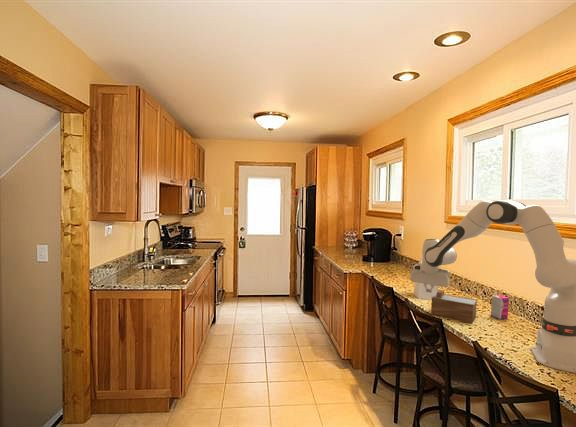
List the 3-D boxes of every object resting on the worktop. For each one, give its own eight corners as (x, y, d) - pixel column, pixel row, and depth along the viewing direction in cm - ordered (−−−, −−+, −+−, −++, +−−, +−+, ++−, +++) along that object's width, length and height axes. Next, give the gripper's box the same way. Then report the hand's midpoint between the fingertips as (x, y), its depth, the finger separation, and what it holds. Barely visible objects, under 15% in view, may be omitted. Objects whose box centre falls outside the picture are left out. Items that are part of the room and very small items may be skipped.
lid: (473, 306, 179) (473, 299, 179) (432, 299, 191) (432, 292, 191) (476, 302, 187) (476, 295, 187) (436, 295, 198) (436, 289, 198)
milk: (432, 294, 231) (434, 255, 230) (438, 299, 220) (440, 258, 219) (413, 293, 233) (415, 254, 232) (418, 298, 221) (420, 257, 220)
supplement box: (499, 319, 185) (500, 298, 185) (490, 316, 191) (491, 295, 190) (508, 319, 187) (509, 297, 186) (498, 315, 192) (499, 294, 192)
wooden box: (472, 323, 178) (473, 305, 178) (431, 314, 190) (431, 297, 190) (475, 317, 188) (476, 299, 188) (436, 309, 200) (437, 293, 199)
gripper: (451, 269, 192) (450, 294, 193) (413, 264, 204) (412, 287, 205) (448, 271, 187) (447, 296, 188) (409, 265, 199) (408, 290, 200)
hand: (428, 292), depth 196 cm, fingers closed
